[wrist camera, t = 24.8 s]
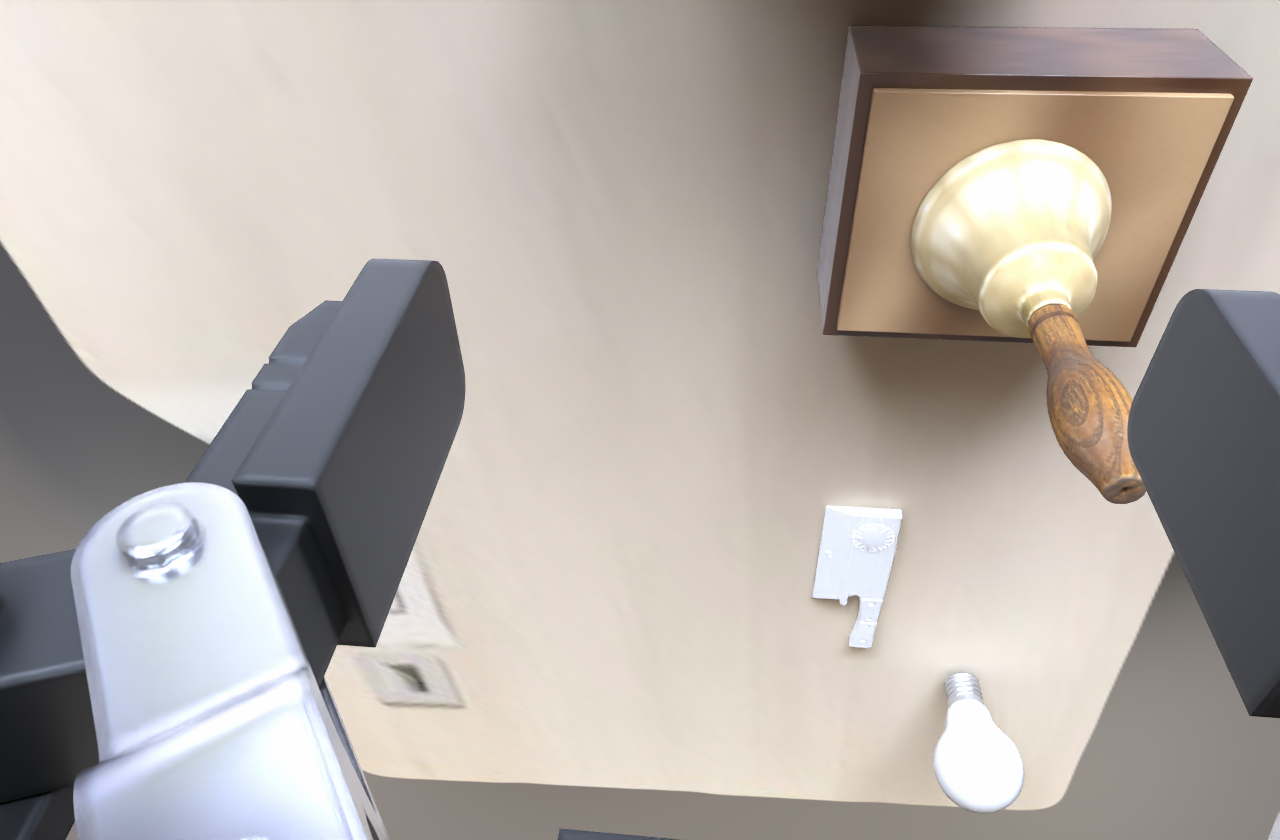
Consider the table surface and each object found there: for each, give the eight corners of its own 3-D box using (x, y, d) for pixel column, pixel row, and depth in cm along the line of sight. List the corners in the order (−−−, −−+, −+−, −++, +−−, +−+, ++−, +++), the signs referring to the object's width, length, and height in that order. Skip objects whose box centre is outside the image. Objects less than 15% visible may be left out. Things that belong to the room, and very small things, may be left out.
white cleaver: (805, 634, 70) (805, 646, 69) (827, 503, 60) (827, 515, 59) (870, 639, 70) (871, 651, 69) (903, 508, 60) (905, 520, 59)
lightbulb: (915, 656, 71) (935, 790, 63) (998, 649, 69) (1031, 785, 61) (924, 699, 75) (944, 830, 66) (1003, 693, 73) (1035, 826, 65)
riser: (816, 273, 48) (823, 339, 44) (848, 25, 40) (860, 75, 35) (1101, 282, 47) (1139, 352, 42) (1198, 28, 39) (1258, 81, 34)
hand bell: (1146, 152, 36) (1339, 404, 24) (1062, 317, 42) (1185, 589, 30) (945, 125, 36) (1037, 363, 24) (887, 294, 42) (940, 555, 30)
